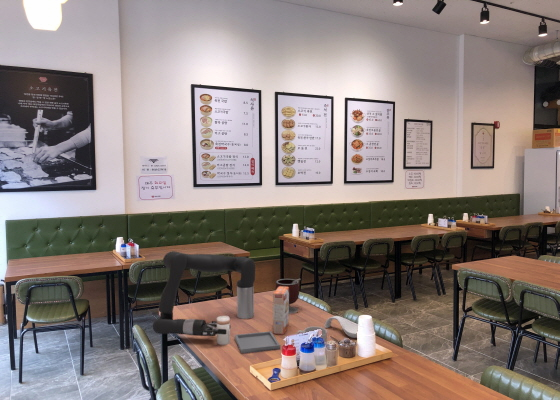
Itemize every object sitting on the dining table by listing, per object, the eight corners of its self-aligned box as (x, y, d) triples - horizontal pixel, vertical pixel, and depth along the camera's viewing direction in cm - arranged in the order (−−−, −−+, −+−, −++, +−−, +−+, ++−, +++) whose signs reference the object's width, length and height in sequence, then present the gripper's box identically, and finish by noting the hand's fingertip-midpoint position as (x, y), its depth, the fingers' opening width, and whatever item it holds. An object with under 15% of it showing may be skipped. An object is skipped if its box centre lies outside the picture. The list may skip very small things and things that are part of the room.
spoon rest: (372, 336, 218) (372, 321, 218) (358, 343, 210) (358, 328, 209) (333, 324, 235) (333, 311, 234) (319, 330, 226) (319, 316, 226)
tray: (234, 338, 215) (234, 334, 215) (270, 335, 219) (270, 331, 219) (241, 353, 197) (241, 349, 197) (280, 349, 202) (280, 345, 202)
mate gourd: (270, 311, 255) (270, 277, 254) (283, 305, 267) (283, 272, 266) (294, 316, 247) (294, 281, 246) (306, 309, 259) (306, 276, 257)
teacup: (329, 344, 208) (329, 327, 207) (324, 353, 198) (324, 336, 197) (300, 340, 212) (300, 324, 212) (294, 349, 202) (294, 332, 202)
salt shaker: (216, 340, 212) (215, 316, 212) (229, 339, 214) (228, 315, 213) (217, 345, 206) (217, 320, 206) (230, 344, 208) (230, 319, 207)
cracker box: (284, 335, 219) (284, 293, 218) (272, 334, 221) (272, 293, 219) (289, 325, 233) (289, 286, 232) (278, 324, 234) (278, 285, 233)
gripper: (188, 324, 205) (223, 327, 202) (199, 314, 219) (232, 316, 216) (189, 340, 205) (223, 343, 203) (199, 329, 220) (232, 331, 217)
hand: (228, 329), depth 209 cm, fingers closed on salt shaker, 6 cm apart
